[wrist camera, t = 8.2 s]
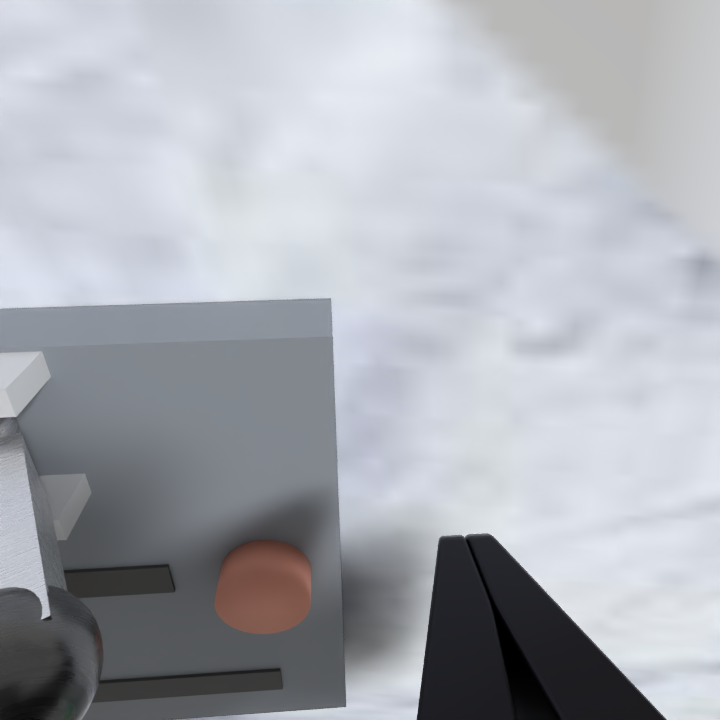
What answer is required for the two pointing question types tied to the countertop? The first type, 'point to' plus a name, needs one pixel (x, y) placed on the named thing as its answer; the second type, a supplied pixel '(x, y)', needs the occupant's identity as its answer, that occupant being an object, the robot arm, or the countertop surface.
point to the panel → (191, 496)
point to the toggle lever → (38, 603)
